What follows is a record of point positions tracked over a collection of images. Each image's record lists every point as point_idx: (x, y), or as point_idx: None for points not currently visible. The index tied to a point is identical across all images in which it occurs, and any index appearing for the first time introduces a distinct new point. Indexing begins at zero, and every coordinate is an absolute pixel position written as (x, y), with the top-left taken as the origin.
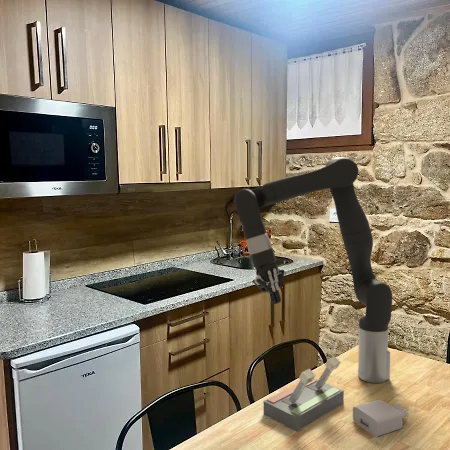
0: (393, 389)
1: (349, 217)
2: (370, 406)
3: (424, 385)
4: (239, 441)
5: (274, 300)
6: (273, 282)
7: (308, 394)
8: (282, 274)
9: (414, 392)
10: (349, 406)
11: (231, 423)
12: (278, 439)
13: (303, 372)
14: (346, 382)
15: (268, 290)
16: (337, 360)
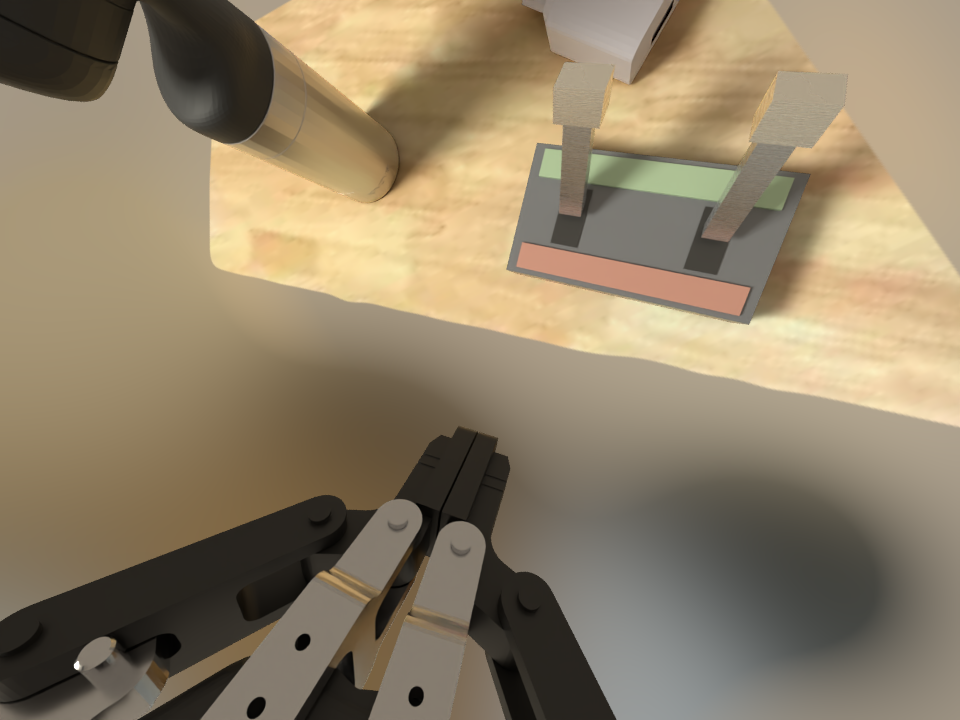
0: (401, 86)
1: None
2: (612, 4)
3: (341, 30)
4: (947, 310)
5: (508, 474)
6: (411, 634)
7: (623, 221)
8: (114, 601)
9: (389, 32)
10: (552, 137)
11: (842, 381)
12: (864, 214)
13: (839, 100)
14: (427, 209)
15: (555, 603)
16: (568, 71)
